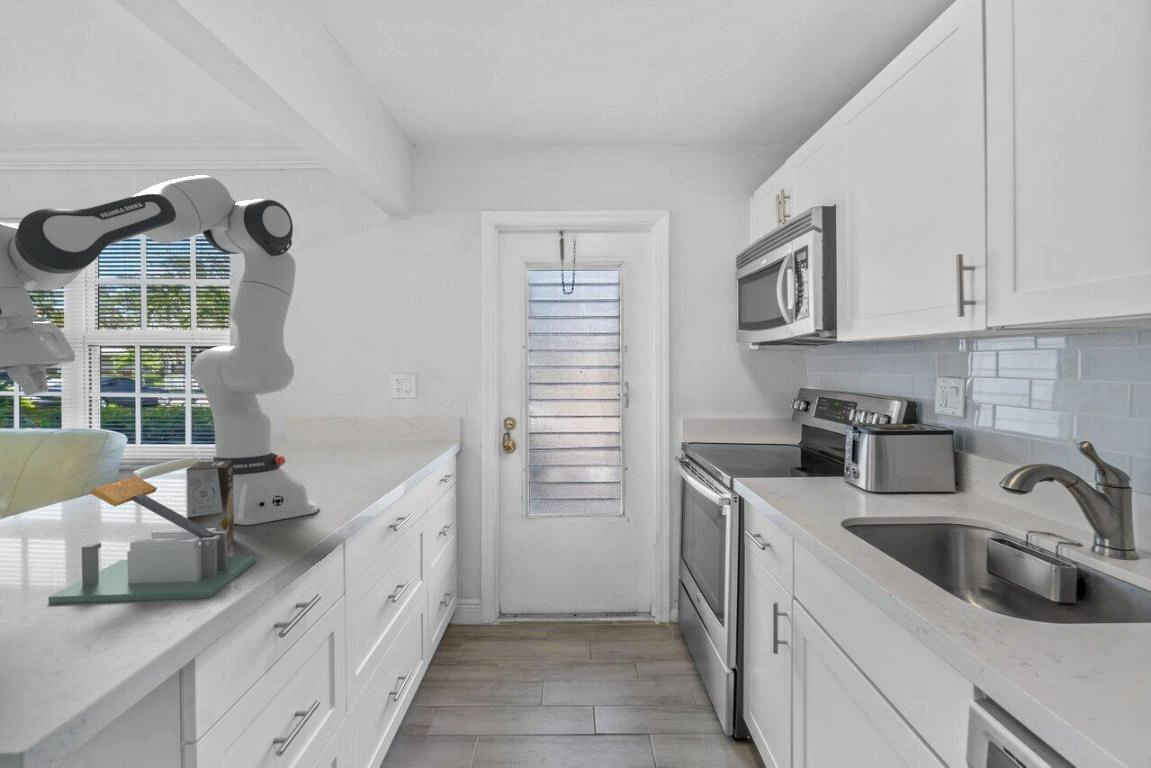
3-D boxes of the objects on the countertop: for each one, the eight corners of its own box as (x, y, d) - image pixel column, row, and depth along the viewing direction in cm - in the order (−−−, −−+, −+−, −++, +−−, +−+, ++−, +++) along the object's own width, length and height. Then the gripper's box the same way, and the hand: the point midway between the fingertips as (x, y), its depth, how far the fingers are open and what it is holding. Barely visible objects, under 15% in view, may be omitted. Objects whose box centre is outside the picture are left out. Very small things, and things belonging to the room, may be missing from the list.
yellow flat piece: (89, 493, 88) (92, 488, 88) (132, 479, 97) (135, 475, 97) (191, 549, 89) (194, 544, 89) (223, 530, 99) (226, 526, 99)
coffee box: (227, 553, 108) (226, 467, 107) (186, 557, 105) (185, 469, 105) (234, 539, 116) (233, 459, 116) (197, 542, 114) (196, 461, 113)
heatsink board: (48, 603, 85) (47, 553, 84) (121, 565, 101) (120, 523, 100) (209, 598, 87) (208, 549, 87) (255, 561, 103) (255, 520, 103)
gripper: (29, 322, 104) (64, 393, 106) (-82, 318, 84) (-37, 407, 86) (65, 310, 105) (99, 381, 106) (-36, 304, 84) (7, 392, 86)
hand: (38, 393), depth 96 cm, fingers closed
